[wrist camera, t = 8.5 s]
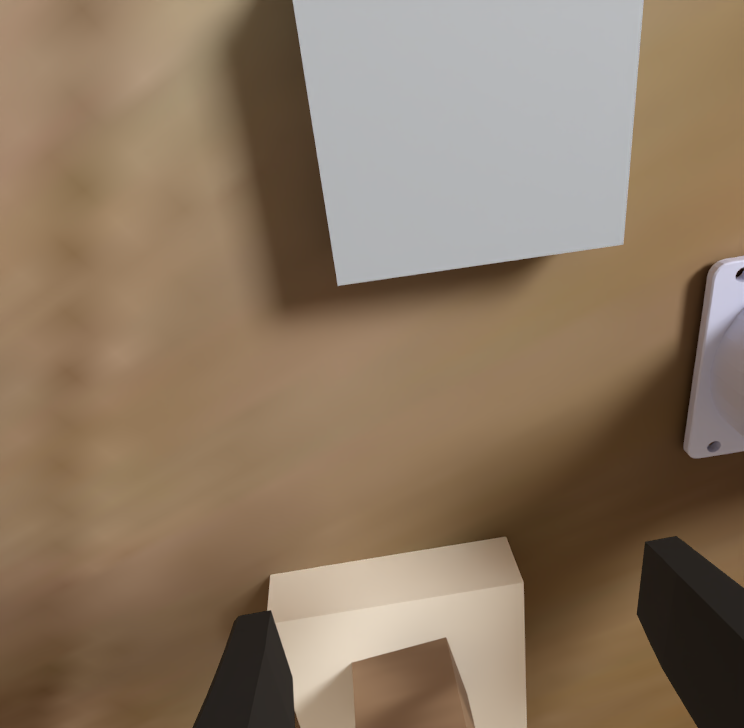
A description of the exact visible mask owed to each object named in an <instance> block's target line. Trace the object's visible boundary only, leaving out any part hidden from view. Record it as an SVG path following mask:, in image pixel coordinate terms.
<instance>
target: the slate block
mask: <svg viewBox="0 0 744 728" xmlns="http://www.w3.org/2000/svg"><path fill="white" fill-rule="evenodd" d="M643 2H644V0H293V6H294V12H295V19H296V25H297V31H298V38H299V44H300V50H301V57H302V63H303V69H304V76H305V82H306V88H307V95H308V101H309V107H310V114H311V120H312V126H313V132H314V139H315V145H316V151H317V158H318V164H319V170H320V177H321V183H322V189H323V196H324V202H325V208H326V215H327V221H328V227H329V234H330V240H331V246H332V252H333V259H334V265H335V271H336V278H337V284H338V286H340V285H347V284H354V283H361V282H368V281H375V280H382V279H388V278H395V277H402V276H409V275H416V274H423V273H430V272H437V271H444V270H451V269H458V268H464V267H471V266H478V265H485V264H492V263H499V262H506V261H513V260H520V259H527V258H534V257H540V256H547V255H554V254H561V253H568V252H575V251H582V250H589V249H596V248H603V247H609V246H616V245H623V242H624V230H625V218H626V206H627V194H628V182H629V170H630V158H631V146H632V134H633V122H634V110H635V98H636V86H637V74H638V62H639V50H640V38H641V26H642V14H643Z"/></svg>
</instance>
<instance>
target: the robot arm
mask: <svg viewBox="0 0 744 728" xmlns="http://www.w3.org/2000/svg"><path fill="white" fill-rule="evenodd" d="M743 267H744V256H740V257H734V258H728V259H723V260H720V261H718V262H716V263H715V264H714V265H713V266H712V267H711V268H710V270H709V272H708V275H707V282H706V289H705V296H704V303H703V310H702V317H701V324H700V331H699V338H698V346H697V353H696V360H695V367H694V374H693V381H692V388H691V395H690V402H689V410H688V417H687V424H686V431H685V438H684V445H683V446H684V450H685V451H686V453H687V454H688V455H689V456H690V457H692V458H705V457H711V456H717V455H723V454H729V453H735V452H742V451H744V270H743V273H742V274H741V275H740V276H739V277H736V273H737V272H738V271H739V270H740V269H741V268H743ZM711 442H714V443H712V444H711V445H709V444H710V443H711ZM708 445H709V446H708ZM637 615H638V618H639V620H640V622H641V624H642V626H643V629H644V631H645V633H646V635H647V637H648V640H649V642H650V644H651V646H652V648H653V650H654V652H655V654H656V657H657V659H658V661H659V663H660V665H661V667H662V669H663V670H664V672H665V674H666V676H667V677H668V679H669V681H670V682H671V684H672V686H673V687H674V689H675V691H676V692H677V694H678V696H679V697H680V699H681V701H682V702H683V704H684V706H685V707H686V709H687V710H688V712H689V714H690V715H691V717H692V719H693V720H694V722H695V724H696V725H697V727H698V728H744V588H743V587H742V586H740V585H739V584H738V583H737V582H735V581H734V580H733V579H731V578H730V577H729V576H727V575H726V574H725V573H724V572H722V571H721V570H720V569H718V568H717V567H716V566H714V565H713V564H712V563H711V562H709V561H708V560H707V559H705V558H704V557H703V556H702V555H700V554H699V553H698V552H696V551H695V550H694V549H693V548H691V547H690V546H689V545H687V544H686V543H685V542H683V541H682V540H681V539H679V538H678V537H677V536H675V537H669V538H664V539H658V540H653V541H647V542H645V548H644V556H643V565H642V574H641V582H640V591H639V599H638V608H637ZM193 728H295V717H294V692H293V677H292V674H291V671H290V667H289V664H288V661H287V658H286V655H285V652H284V649H283V646H282V643H281V640H280V636H279V633H278V630H277V627H276V624H275V621H274V618H273V615H272V612H271V610H269V611H264V612H258V613H253V614H247V615H242V616H239V617H238V618H237V619H236V620H235V621H234V624H233V627H232V630H231V633H230V636H229V639H228V641H227V644H226V647H225V650H224V653H223V655H222V658H221V661H220V663H219V666H218V668H217V671H216V673H215V676H214V678H213V681H212V683H211V686H210V688H209V691H208V693H207V696H206V698H205V700H204V703H203V705H202V707H201V710H200V712H199V714H198V716H197V719H196V721H195V723H194V726H193Z"/></svg>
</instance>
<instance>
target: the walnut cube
mask: <svg viewBox="0 0 744 728" xmlns="http://www.w3.org/2000/svg"><path fill="white" fill-rule="evenodd" d="M352 678H353V695H354V711H355V728H475V725H474V721H473V716H472V712H471V708H470V704H469V699H468V695H467V692H466V689H465V687H464V684H463V681H462V679H461V676H460V673H459V670H458V668H457V665H456V662H455V660H454V657H453V654H452V651H451V649H450V646H449V643H448V641H447V638H446V637H445V638H441V639H438V640H434V641H430V642H426V643H423V644H419V645H415V646H412V647H408V648H404V649H400V650H397V651H393V652H389V653H386V654H382V655H378V656H374V657H371V658H367V659H363V660H360V661H356V662H352Z"/></svg>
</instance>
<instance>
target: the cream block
mask: <svg viewBox="0 0 744 728" xmlns="http://www.w3.org/2000/svg"><path fill="white" fill-rule="evenodd" d="M269 610H271V612H272V615H273V618H274V621H275V624H276V627H277V630H278V633H279V636H280V640H281V643H282V646H283V649H284V652H285V655H286V658H287V661H288V664H289V667H290V671H291V674H292V677H293V692H294V710H295V713H296V716H297V719H298V722H299V725H300V728H355V711H354V695H353V678H352V662H356V661H360V660H363V659H367V658H371V657H374V656H378V655H382V654H386V653H389V652H393V651H397V650H400V649H404V648H408V647H412V646H415V645H419V644H423V643H426V642H430V641H434V640H438V639H441V638H445V637H446V638H447V641H448V643H449V646H450V649H451V651H452V654H453V657H454V660H455V662H456V665H457V668H458V670H459V673H460V676H461V679H462V681H463V684H464V687H465V689H466V692H467V695H468V699H469V704H470V708H471V712H472V716H473V721H474V725H475V728H527V716H526V668H525V620H524V582H523V579H522V577H521V574H520V572H519V569H518V566H517V564H516V561H515V559H514V556H513V553H512V551H511V548H510V546H509V543H508V540H507V538H506V537H500V538H494V539H488V540H482V541H475V542H469V543H463V544H457V545H451V546H445V547H439V548H432V549H426V550H420V551H414V552H408V553H402V554H396V555H389V556H383V557H377V558H371V559H365V560H359V561H353V562H347V563H340V564H334V565H328V566H322V567H316V568H310V569H304V570H297V571H291V572H285V573H279V574H273V575H270V584H269V596H268V607H267V611H269Z"/></svg>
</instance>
